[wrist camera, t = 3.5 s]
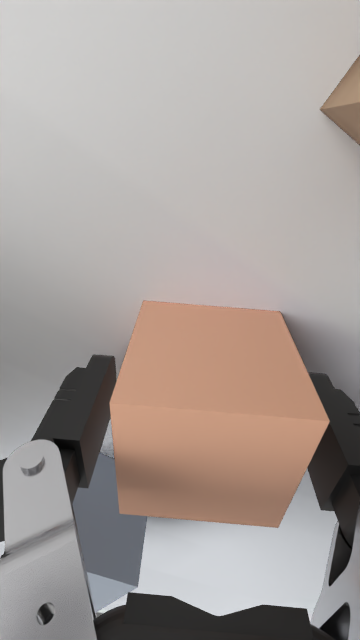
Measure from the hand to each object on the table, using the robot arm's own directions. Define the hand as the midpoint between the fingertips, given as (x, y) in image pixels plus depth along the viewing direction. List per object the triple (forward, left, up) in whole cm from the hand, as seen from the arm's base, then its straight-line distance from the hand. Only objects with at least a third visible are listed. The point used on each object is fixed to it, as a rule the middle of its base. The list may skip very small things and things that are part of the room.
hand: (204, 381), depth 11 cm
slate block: (+9, -5, -1) cm, 11 cm away
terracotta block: (0, 0, -1) cm, 1 cm away
